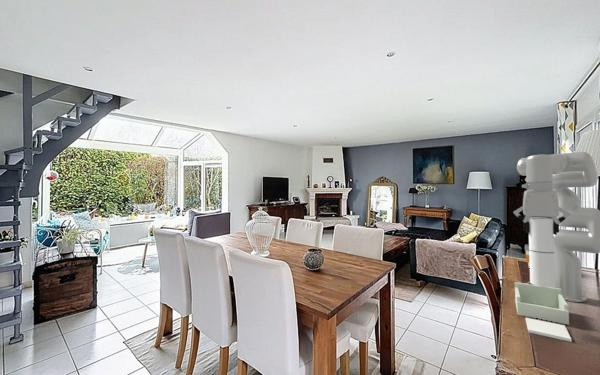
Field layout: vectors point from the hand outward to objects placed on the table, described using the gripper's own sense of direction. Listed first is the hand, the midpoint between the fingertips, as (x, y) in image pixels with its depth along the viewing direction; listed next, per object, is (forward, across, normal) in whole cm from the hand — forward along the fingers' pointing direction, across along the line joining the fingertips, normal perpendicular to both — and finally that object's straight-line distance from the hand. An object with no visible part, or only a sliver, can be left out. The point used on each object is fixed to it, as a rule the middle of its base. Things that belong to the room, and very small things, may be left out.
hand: (540, 233), depth 102 cm
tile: (+34, 0, -5) cm, 35 cm away
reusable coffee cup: (+33, +6, +88) cm, 94 cm away
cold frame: (+34, 0, +12) cm, 36 cm away
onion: (+34, -2, +29) cm, 45 cm away
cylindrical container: (+19, 0, 0) cm, 19 cm away
